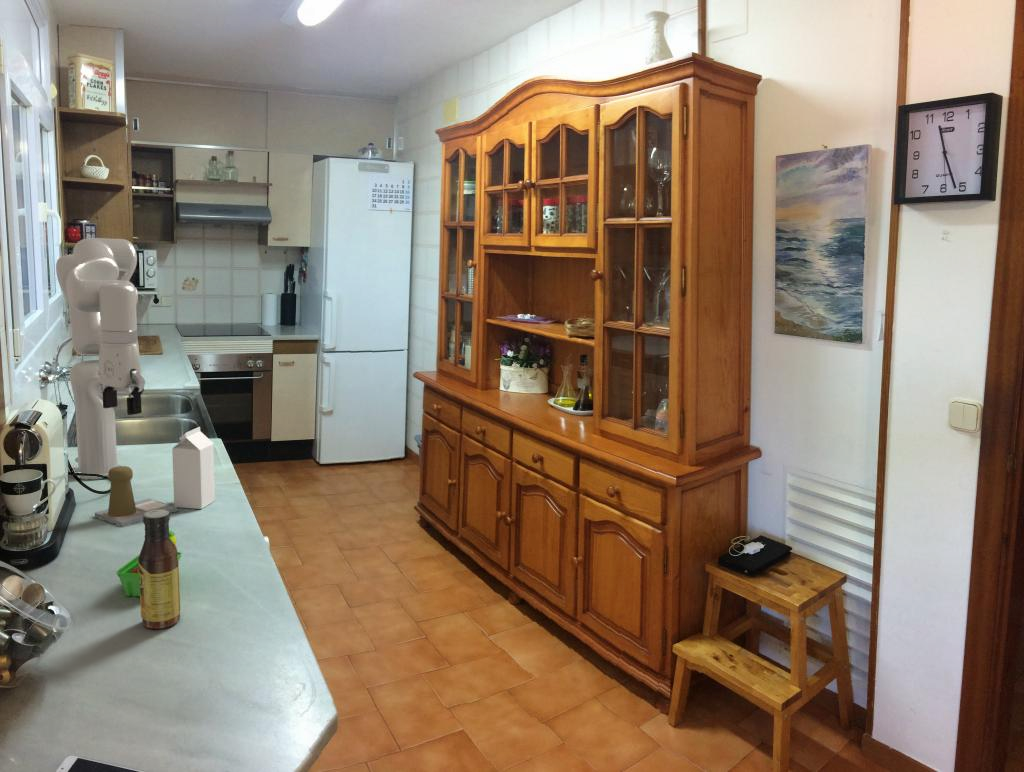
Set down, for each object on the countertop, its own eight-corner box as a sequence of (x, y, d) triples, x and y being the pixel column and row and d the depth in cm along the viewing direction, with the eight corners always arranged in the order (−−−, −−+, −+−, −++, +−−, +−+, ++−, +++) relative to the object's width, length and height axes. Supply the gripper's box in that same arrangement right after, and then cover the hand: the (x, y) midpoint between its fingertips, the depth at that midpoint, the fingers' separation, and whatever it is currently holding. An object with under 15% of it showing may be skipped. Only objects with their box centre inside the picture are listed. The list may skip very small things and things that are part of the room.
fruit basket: (145, 574, 157) (143, 519, 155) (190, 576, 157) (188, 521, 155) (115, 599, 146) (112, 540, 144) (163, 601, 146) (161, 542, 144)
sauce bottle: (149, 614, 140) (144, 505, 137) (186, 614, 141) (182, 505, 138) (135, 632, 134) (129, 518, 131) (173, 632, 134) (169, 518, 131)
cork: (142, 510, 190) (140, 465, 188) (122, 518, 184) (120, 472, 182) (122, 507, 192) (120, 462, 190) (101, 514, 186) (99, 468, 184)
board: (94, 516, 188) (94, 511, 188) (149, 502, 200) (149, 497, 199) (122, 526, 182) (122, 521, 182) (176, 511, 194) (176, 506, 194)
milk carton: (215, 501, 203) (213, 427, 199) (201, 509, 196) (199, 433, 192) (188, 499, 203) (186, 425, 200) (174, 507, 196) (171, 432, 193)
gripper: (82, 334, 185) (85, 407, 188) (125, 343, 176) (128, 419, 179) (113, 332, 191) (116, 402, 194) (156, 340, 182) (159, 414, 185)
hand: (122, 410), depth 186 cm, fingers open, 9 cm apart
